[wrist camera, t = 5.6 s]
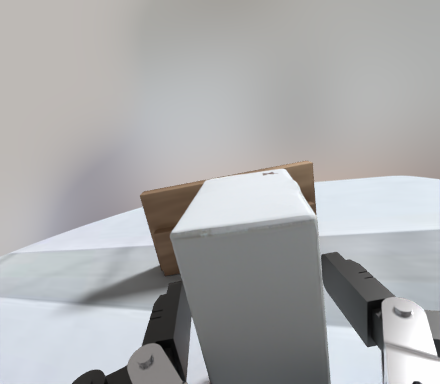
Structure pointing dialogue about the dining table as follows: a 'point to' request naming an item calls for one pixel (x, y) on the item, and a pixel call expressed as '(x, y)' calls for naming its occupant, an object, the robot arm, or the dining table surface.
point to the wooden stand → (182, 197)
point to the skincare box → (255, 280)
